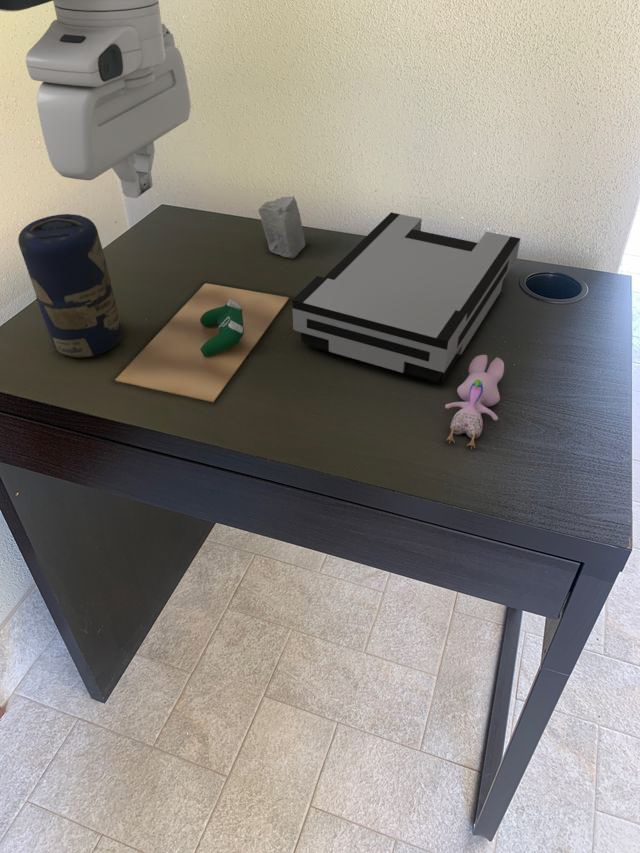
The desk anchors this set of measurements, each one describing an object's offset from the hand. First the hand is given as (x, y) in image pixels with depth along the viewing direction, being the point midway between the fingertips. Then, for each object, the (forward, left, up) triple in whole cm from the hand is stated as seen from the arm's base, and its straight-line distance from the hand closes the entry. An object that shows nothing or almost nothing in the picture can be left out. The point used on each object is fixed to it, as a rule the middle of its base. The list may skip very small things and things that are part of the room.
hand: (138, 192), depth 70 cm
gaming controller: (+9, +8, -25) cm, 28 cm away
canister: (-9, +15, -26) cm, 31 cm away
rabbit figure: (+32, -19, -26) cm, 45 cm away
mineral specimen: (+25, +30, -26) cm, 47 cm away
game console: (+35, +3, -26) cm, 44 cm away
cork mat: (+7, +10, -25) cm, 28 cm away
